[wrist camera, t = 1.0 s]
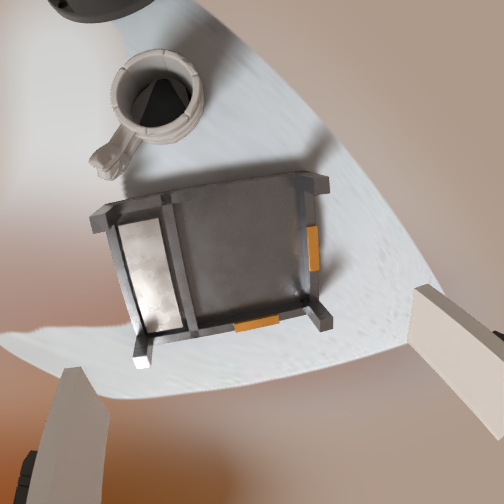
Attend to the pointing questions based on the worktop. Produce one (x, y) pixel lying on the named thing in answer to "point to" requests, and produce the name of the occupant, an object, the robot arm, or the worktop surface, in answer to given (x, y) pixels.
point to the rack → (217, 257)
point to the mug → (131, 109)
